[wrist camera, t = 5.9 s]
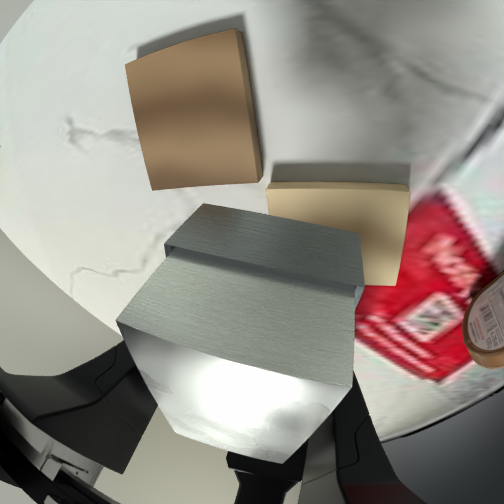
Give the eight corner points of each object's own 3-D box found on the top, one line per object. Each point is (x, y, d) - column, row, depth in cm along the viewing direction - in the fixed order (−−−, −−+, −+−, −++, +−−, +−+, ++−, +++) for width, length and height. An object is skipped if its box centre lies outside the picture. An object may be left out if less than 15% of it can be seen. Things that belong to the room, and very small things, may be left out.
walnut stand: (263, 176, 20) (257, 182, 19) (161, 184, 22) (152, 190, 21) (242, 32, 14) (234, 28, 13) (136, 64, 17) (124, 64, 15)
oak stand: (393, 274, 21) (395, 285, 20) (279, 270, 24) (276, 280, 23) (405, 184, 17) (410, 192, 16) (270, 182, 20) (265, 189, 19)
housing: (359, 233, 8) (366, 382, 4) (307, 372, 13) (286, 465, 9) (203, 203, 9) (105, 310, 5) (211, 348, 13) (171, 431, 9)
